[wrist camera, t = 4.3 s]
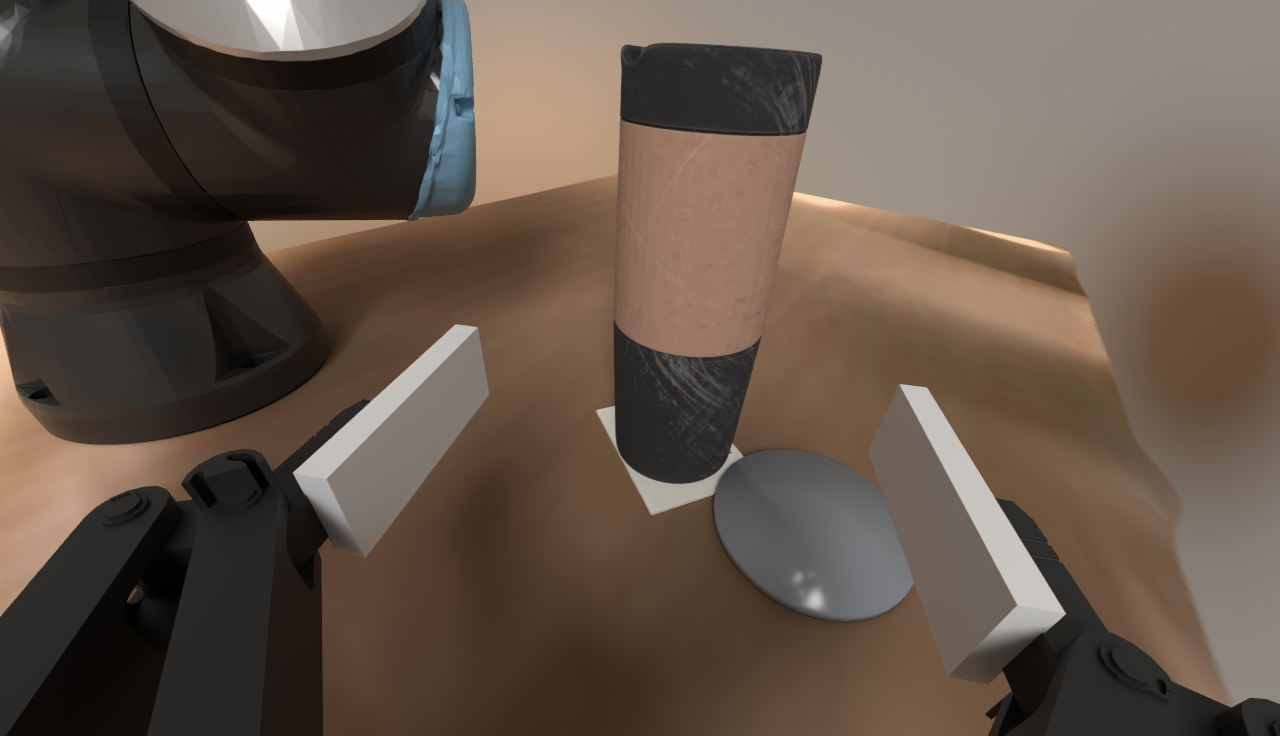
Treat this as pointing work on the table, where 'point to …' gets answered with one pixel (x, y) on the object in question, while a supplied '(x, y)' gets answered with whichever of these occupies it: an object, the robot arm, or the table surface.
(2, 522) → the table surface
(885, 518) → the slate coaster
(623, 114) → the travel mug
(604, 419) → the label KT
